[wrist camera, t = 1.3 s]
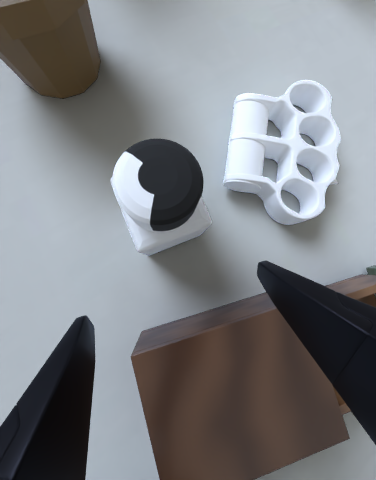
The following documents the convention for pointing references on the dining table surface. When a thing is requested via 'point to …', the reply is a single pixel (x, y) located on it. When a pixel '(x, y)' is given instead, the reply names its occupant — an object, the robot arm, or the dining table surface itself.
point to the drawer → (363, 292)
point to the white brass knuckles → (284, 149)
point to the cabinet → (233, 394)
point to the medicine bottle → (160, 194)
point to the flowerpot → (50, 45)
